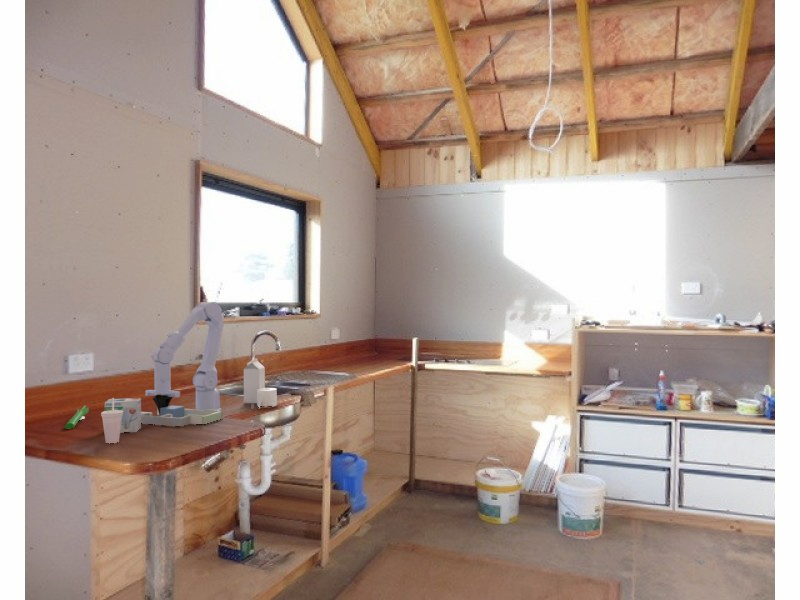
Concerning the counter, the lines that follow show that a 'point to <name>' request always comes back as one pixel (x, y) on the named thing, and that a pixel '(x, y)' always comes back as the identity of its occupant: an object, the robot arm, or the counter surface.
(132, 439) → the counter surface
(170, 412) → the block
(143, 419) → the trap box
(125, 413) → the light bulb box
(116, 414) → the smoothie
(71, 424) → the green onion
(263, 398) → the toilet paper
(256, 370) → the milk carton
